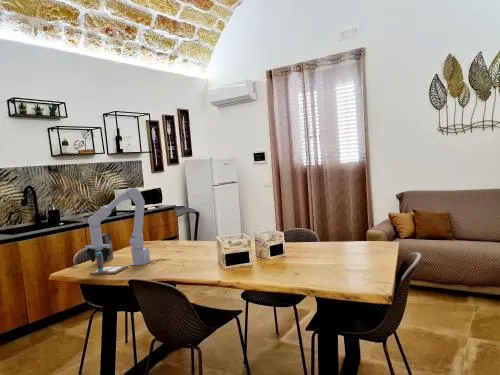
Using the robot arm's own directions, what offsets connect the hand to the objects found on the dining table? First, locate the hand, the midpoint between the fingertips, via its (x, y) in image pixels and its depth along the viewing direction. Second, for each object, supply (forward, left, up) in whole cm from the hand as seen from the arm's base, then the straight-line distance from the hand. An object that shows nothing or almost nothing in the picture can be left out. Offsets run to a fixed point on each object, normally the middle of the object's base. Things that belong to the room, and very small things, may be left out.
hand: (99, 261), depth 205 cm
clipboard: (-4, -2, -6) cm, 7 cm away
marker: (0, 0, -5) cm, 5 cm away
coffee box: (+15, -25, -6) cm, 30 cm away
